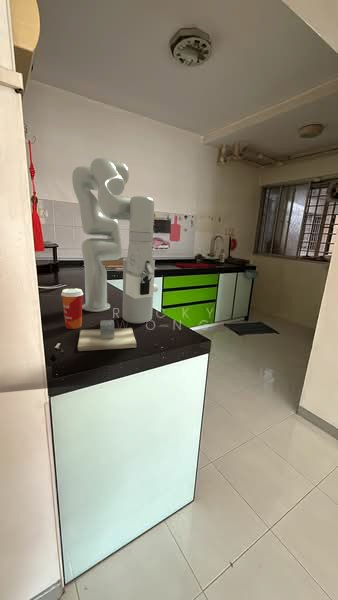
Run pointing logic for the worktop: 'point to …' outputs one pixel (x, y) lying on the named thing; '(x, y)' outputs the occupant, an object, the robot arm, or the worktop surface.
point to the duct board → (106, 340)
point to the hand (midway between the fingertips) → (139, 291)
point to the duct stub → (107, 329)
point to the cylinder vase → (136, 303)
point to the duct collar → (138, 286)
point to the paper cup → (72, 307)
